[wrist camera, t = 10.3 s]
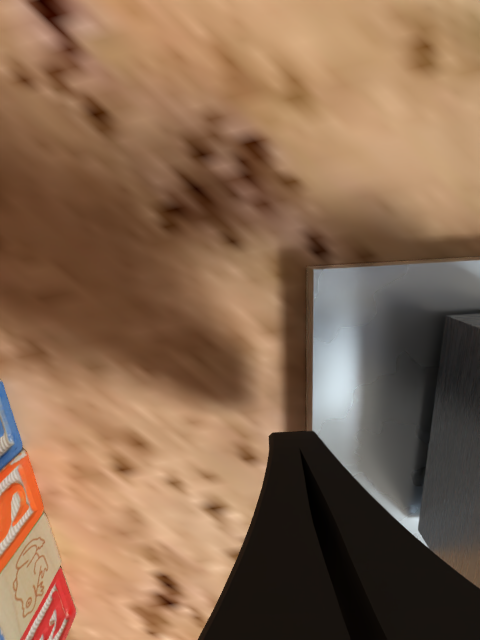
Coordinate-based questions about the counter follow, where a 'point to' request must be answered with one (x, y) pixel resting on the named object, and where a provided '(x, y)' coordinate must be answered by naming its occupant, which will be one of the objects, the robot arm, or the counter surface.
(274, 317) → the counter surface
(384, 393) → the base
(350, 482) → the robot arm
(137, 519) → the counter surface
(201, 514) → the counter surface
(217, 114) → the counter surface
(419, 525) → the block
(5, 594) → the stack of blocks
